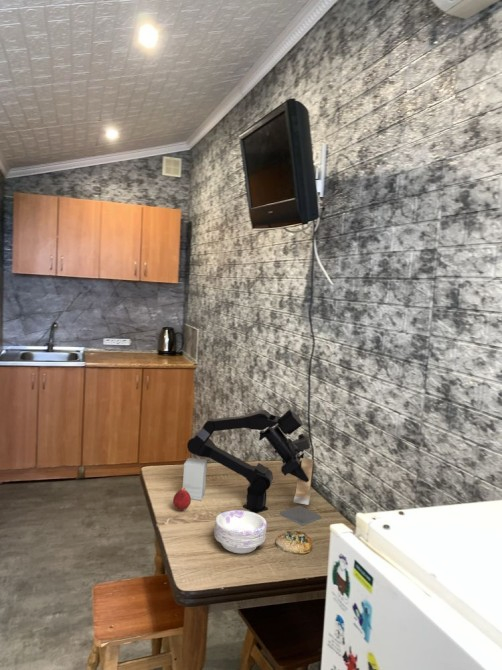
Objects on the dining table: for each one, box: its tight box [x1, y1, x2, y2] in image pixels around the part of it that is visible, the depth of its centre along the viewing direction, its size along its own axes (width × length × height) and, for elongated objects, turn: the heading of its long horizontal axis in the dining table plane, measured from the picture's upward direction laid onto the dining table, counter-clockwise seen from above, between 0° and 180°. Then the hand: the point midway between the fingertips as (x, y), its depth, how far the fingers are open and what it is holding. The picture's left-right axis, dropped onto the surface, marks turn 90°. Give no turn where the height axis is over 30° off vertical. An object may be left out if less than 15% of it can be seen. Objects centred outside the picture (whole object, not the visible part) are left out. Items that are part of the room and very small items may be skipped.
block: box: [293, 457, 314, 506], centre depth 169 cm, size 5×9×13 cm, turn 169°
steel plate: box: [279, 505, 322, 527], centre depth 170 cm, size 10×10×1 cm
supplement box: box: [181, 457, 208, 501], centre depth 179 cm, size 7×7×13 cm
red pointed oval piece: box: [172, 486, 192, 512], centre depth 166 cm, size 6×6×8 cm
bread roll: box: [275, 530, 314, 555], centre depth 149 cm, size 11×11×5 cm
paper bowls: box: [213, 509, 268, 554], centre depth 147 cm, size 15×15×8 cm
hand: (308, 478), depth 169 cm, fingers closed on block, 4 cm apart
